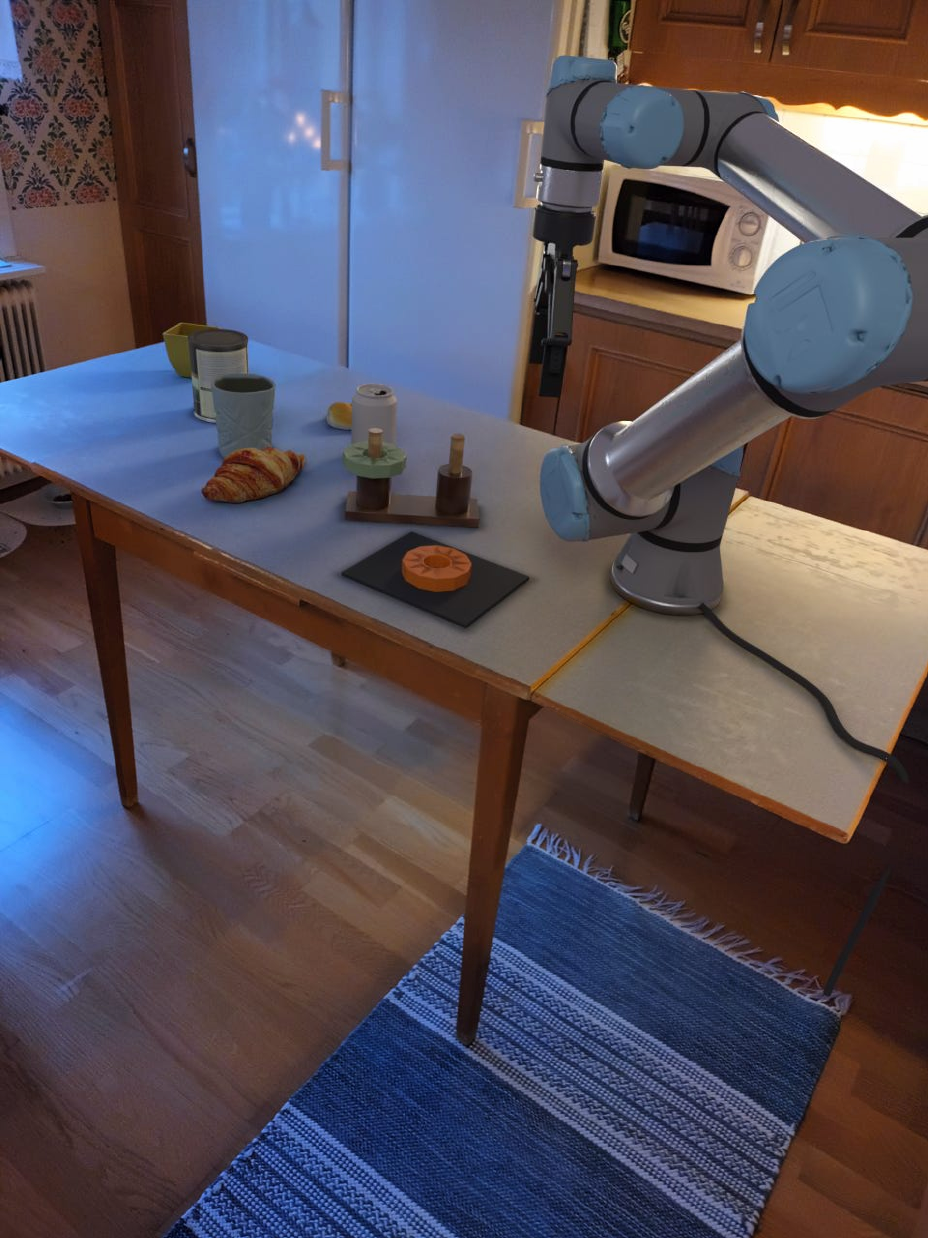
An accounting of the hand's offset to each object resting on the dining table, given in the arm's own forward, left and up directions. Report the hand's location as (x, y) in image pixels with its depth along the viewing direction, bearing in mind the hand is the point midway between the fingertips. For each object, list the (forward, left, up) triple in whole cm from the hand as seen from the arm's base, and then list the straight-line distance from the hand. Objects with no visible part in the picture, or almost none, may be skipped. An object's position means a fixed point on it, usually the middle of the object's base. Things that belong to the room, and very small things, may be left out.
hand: (543, 379), depth 122 cm
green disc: (+21, +10, -17) cm, 29 cm away
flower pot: (+89, -3, -25) cm, 92 cm away
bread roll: (+51, -11, -25) cm, 58 cm away
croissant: (+38, +19, -25) cm, 49 cm away
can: (+37, -4, -25) cm, 45 cm away
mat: (+1, +17, -25) cm, 30 cm away
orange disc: (+1, +17, -24) cm, 30 cm away
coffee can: (+68, +5, -25) cm, 73 cm away
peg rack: (+17, +6, -25) cm, 31 cm away
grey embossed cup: (+51, +12, -25) cm, 58 cm away
